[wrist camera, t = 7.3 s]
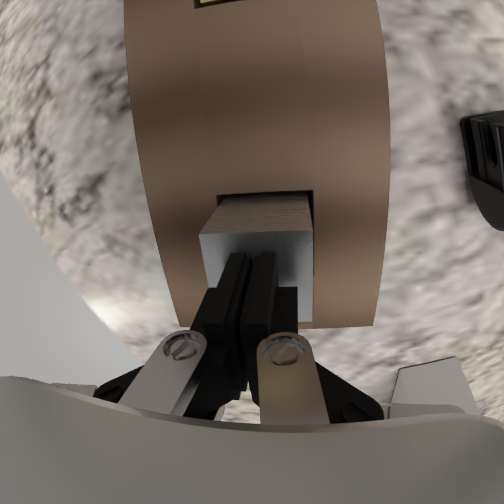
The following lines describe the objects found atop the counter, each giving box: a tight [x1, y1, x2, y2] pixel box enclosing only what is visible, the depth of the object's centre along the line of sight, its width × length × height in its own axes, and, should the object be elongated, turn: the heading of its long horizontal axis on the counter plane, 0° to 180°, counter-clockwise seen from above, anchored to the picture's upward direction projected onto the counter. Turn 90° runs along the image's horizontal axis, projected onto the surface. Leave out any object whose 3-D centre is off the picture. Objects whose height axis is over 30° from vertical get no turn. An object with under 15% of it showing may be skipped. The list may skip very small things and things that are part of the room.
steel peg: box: [199, 190, 313, 322], centre depth 13 cm, size 4×4×6 cm
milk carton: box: [391, 357, 480, 415], centre depth 18 cm, size 7×7×19 cm
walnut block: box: [124, 0, 390, 329], centre depth 14 cm, size 26×12×6 cm, turn 5°
